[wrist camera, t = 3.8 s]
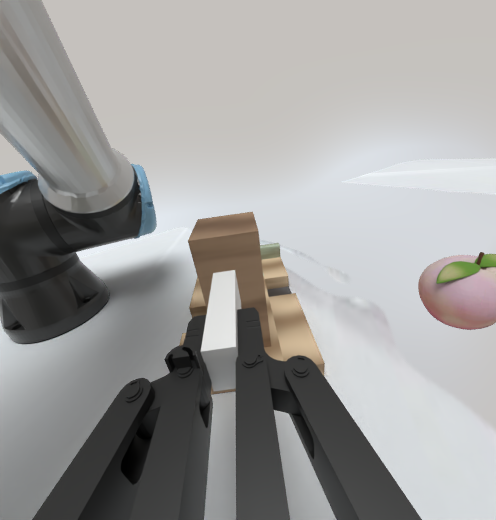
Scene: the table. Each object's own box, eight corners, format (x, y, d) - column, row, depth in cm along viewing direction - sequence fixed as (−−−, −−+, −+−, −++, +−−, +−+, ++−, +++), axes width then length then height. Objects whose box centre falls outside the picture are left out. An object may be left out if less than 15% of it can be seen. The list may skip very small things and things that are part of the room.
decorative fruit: (443, 293, 33) (465, 229, 28) (519, 331, 26) (565, 255, 21) (392, 314, 31) (407, 248, 26) (460, 361, 24) (498, 283, 19)
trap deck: (323, 378, 24) (325, 346, 22) (175, 399, 24) (161, 368, 22) (279, 265, 46) (278, 242, 44) (203, 275, 46) (197, 254, 44)
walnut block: (271, 346, 25) (258, 230, 19) (219, 353, 25) (188, 240, 19) (264, 311, 31) (252, 211, 24) (221, 317, 31) (197, 219, 24)
